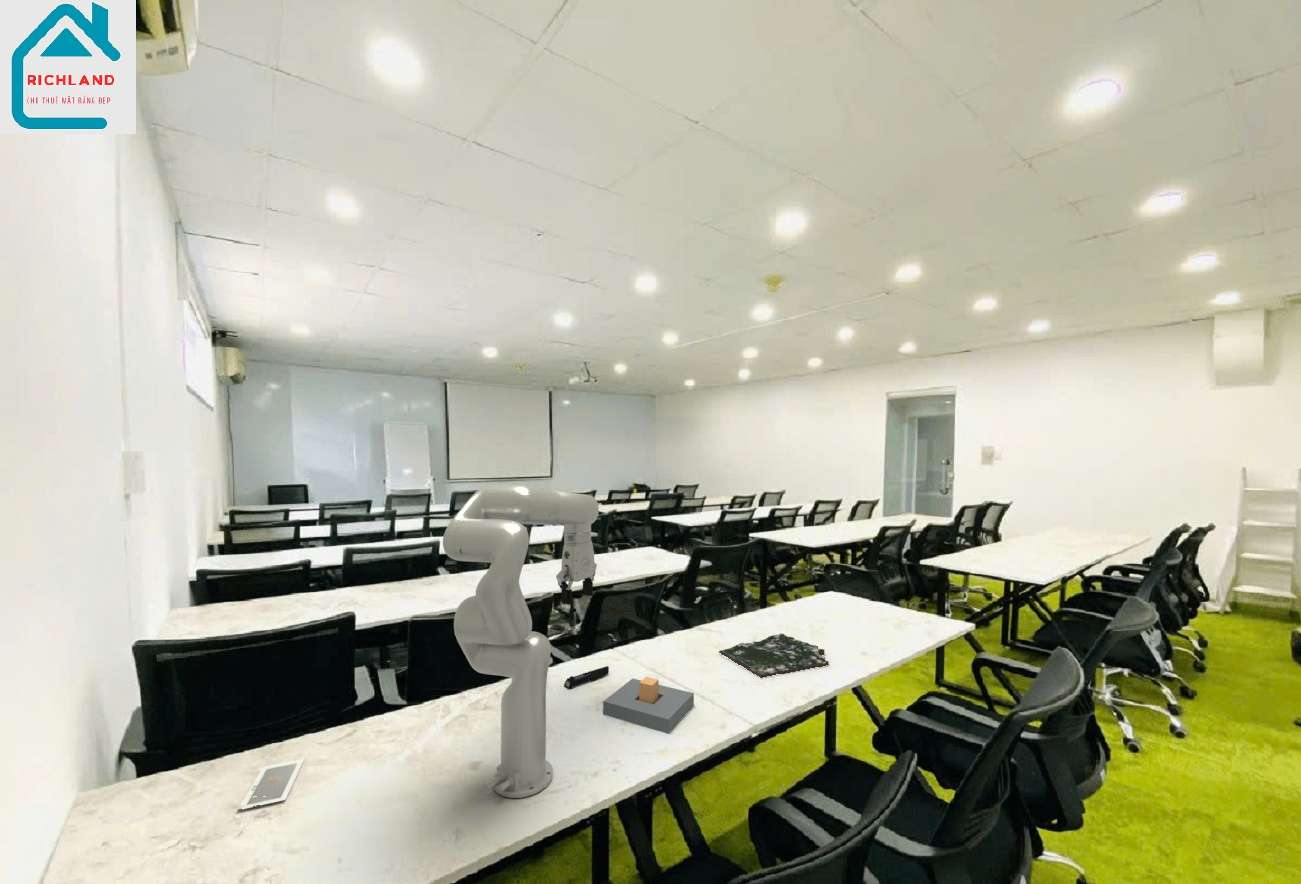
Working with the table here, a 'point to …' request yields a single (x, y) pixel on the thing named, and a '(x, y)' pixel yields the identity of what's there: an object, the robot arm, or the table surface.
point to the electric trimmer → (586, 677)
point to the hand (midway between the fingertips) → (577, 599)
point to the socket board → (649, 706)
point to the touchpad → (272, 783)
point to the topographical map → (776, 655)
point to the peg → (649, 690)
